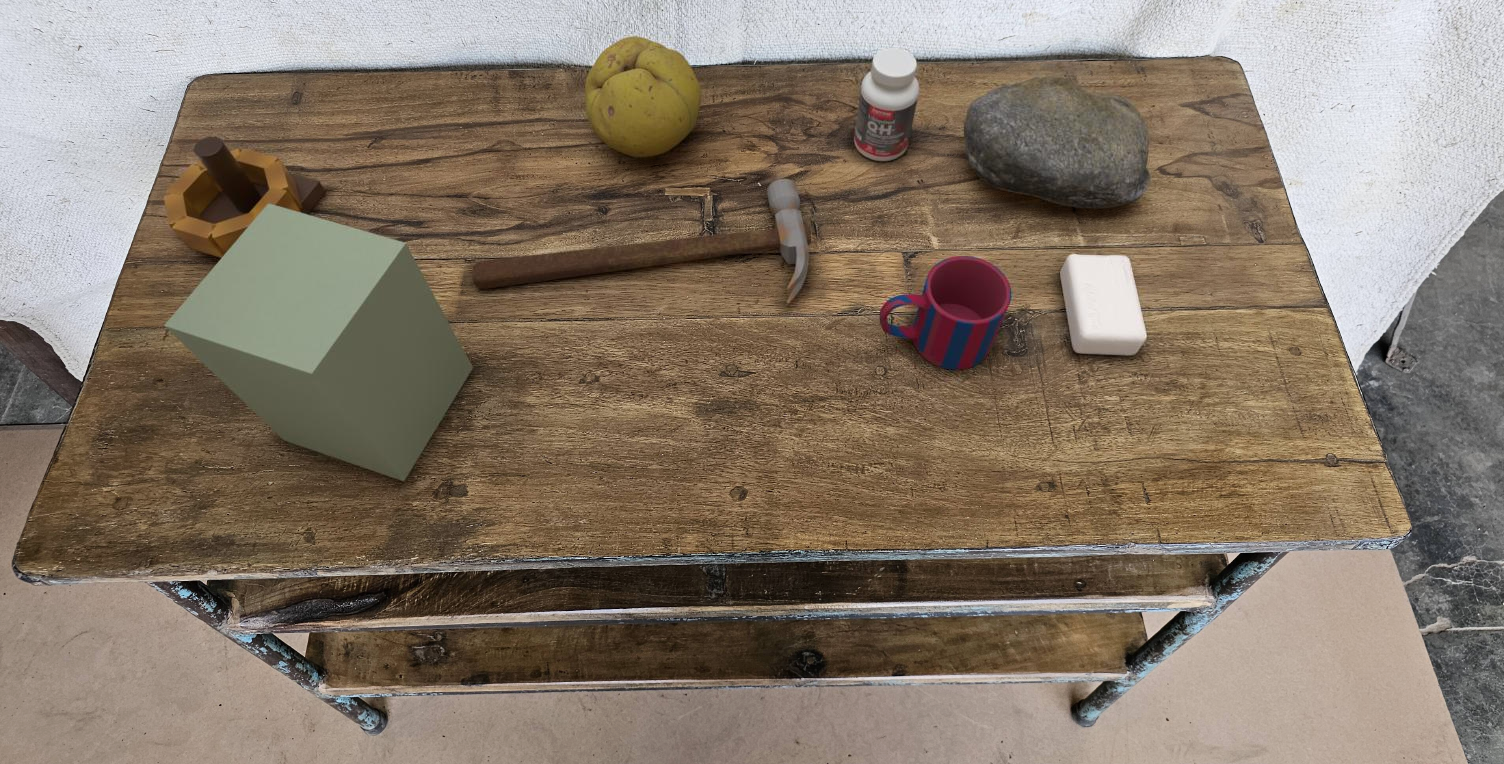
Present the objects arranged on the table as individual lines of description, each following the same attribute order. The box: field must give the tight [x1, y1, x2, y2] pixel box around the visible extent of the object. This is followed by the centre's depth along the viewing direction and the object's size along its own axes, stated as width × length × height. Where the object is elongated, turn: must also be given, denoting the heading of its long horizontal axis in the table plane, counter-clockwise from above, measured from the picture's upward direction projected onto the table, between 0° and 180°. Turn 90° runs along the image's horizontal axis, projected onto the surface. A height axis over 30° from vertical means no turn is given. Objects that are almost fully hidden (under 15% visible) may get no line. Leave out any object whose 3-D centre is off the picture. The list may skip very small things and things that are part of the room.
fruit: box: [584, 36, 703, 158], centre depth 80 cm, size 11×12×10 cm
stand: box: [193, 136, 326, 224], centre depth 76 cm, size 9×9×8 cm
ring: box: [163, 147, 302, 259], centre depth 77 cm, size 10×10×3 cm
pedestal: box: [164, 204, 474, 482], centre depth 62 cm, size 11×11×16 cm
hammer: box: [472, 178, 812, 308], centre depth 75 cm, size 12×3×30 cm
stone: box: [963, 75, 1151, 209], centre depth 78 cm, size 17×13×10 cm
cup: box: [878, 255, 1012, 371], centre depth 70 cm, size 7×10×7 cm
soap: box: [1059, 253, 1148, 356], centre depth 72 cm, size 9×6×3 cm, turn 177°
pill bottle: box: [853, 47, 920, 162], centre depth 80 cm, size 5×5×10 cm
